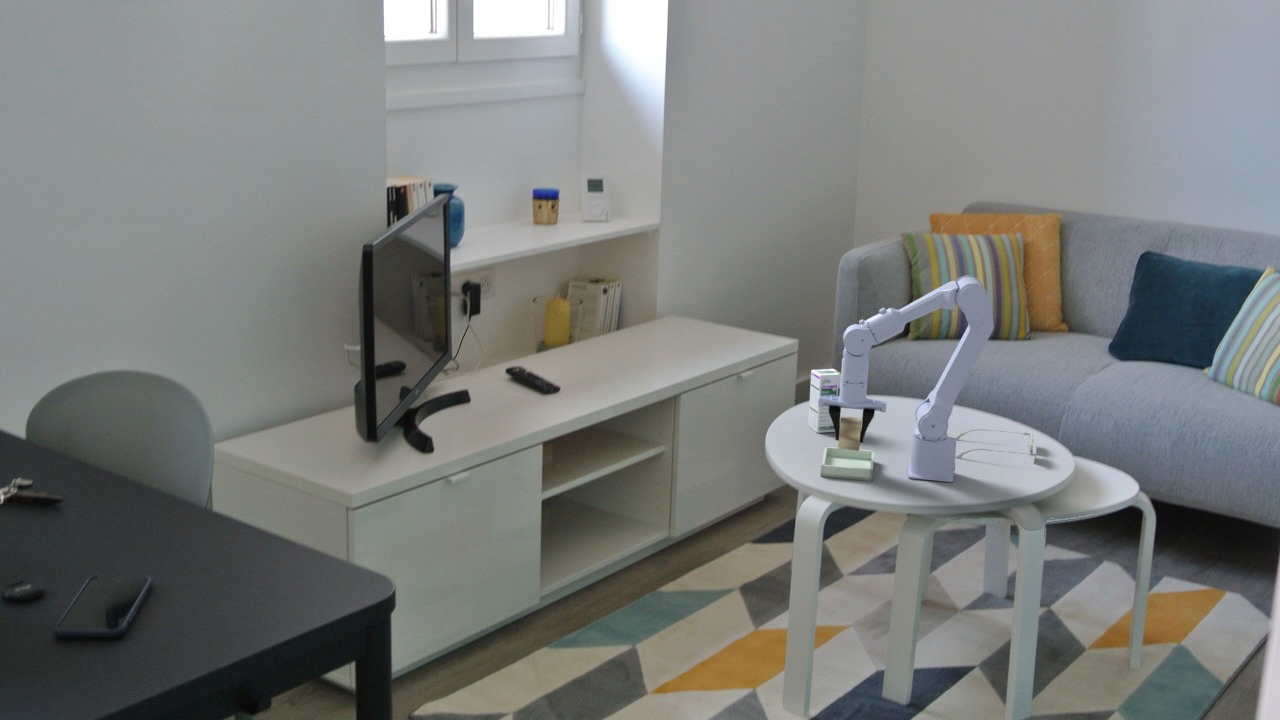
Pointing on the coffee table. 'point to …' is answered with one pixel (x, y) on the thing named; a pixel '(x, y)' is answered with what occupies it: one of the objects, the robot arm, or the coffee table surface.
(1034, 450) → the eyeglasses
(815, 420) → the syrup box
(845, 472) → the serving tray
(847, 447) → the maple block
